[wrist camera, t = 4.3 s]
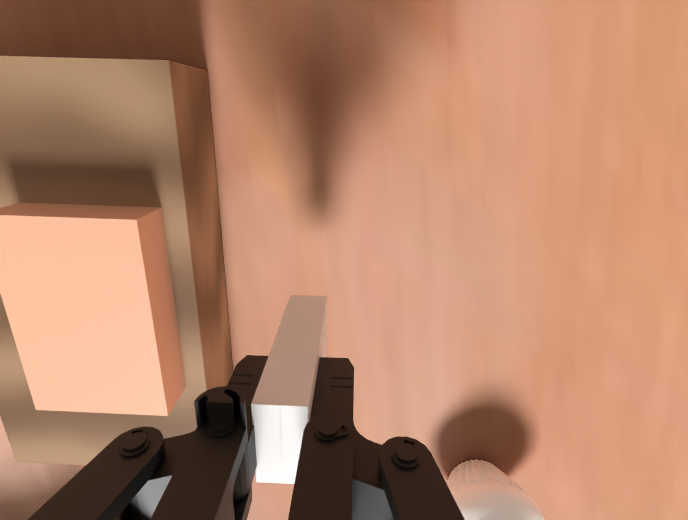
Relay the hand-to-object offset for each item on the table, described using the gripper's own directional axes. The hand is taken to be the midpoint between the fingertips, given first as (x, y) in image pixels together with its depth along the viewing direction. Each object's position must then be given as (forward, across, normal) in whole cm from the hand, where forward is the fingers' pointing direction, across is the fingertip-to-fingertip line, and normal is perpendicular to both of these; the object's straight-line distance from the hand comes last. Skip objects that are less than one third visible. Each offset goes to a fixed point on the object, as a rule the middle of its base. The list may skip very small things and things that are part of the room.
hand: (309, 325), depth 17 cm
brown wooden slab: (+5, -11, 0) cm, 12 cm away
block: (+1, -9, 0) cm, 9 cm away
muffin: (+6, +10, -14) cm, 18 cm away
